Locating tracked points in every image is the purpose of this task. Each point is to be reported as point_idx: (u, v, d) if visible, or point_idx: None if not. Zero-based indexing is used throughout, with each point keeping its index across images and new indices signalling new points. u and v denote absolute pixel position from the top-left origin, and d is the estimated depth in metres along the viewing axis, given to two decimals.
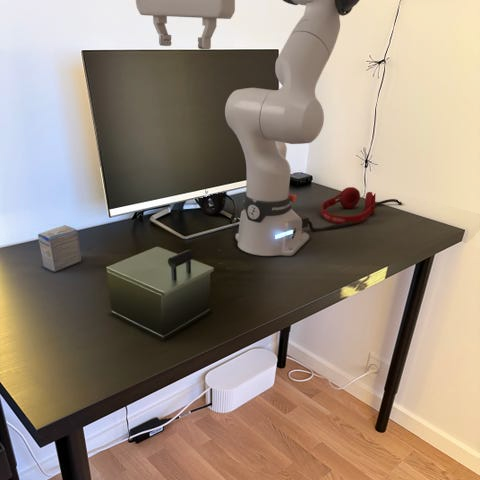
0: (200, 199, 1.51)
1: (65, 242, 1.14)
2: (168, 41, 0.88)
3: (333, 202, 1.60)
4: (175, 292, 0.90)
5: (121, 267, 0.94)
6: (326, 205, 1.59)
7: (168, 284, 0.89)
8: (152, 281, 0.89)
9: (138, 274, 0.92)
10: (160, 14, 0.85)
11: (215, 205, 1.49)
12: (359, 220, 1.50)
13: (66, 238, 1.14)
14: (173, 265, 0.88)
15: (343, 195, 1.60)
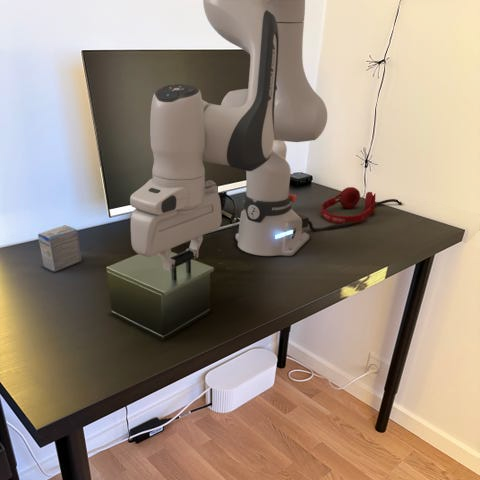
0: None
1: (65, 242, 1.14)
2: None
3: (333, 202, 1.60)
4: (175, 292, 0.90)
5: (121, 267, 0.94)
6: (326, 205, 1.59)
7: (168, 284, 0.89)
8: (152, 281, 0.89)
9: (138, 274, 0.92)
10: (171, 247, 0.84)
11: None
12: (359, 220, 1.50)
13: (66, 238, 1.14)
14: None
15: (343, 195, 1.60)
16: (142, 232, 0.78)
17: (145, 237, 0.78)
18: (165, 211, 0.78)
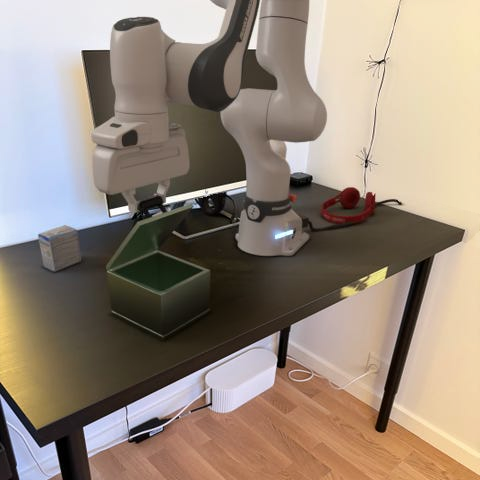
0: (200, 199, 1.51)
1: (65, 242, 1.14)
2: None
3: (333, 202, 1.60)
4: (175, 292, 0.90)
5: None
6: (326, 205, 1.59)
7: None
8: None
9: None
10: (135, 187, 0.84)
11: (215, 205, 1.49)
12: (359, 220, 1.50)
13: (66, 238, 1.14)
14: (141, 207, 0.87)
15: (343, 195, 1.60)
16: (104, 167, 0.78)
17: (106, 173, 0.78)
18: (126, 145, 0.77)
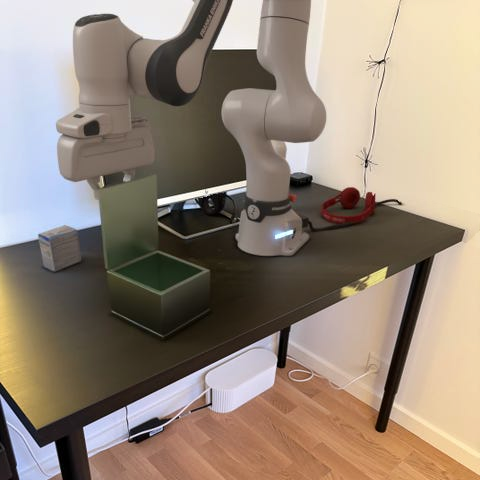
0: (200, 199, 1.51)
1: (65, 242, 1.14)
2: None
3: (333, 202, 1.60)
4: (175, 292, 0.90)
5: None
6: (326, 205, 1.59)
7: None
8: None
9: None
10: (99, 175, 0.88)
11: (215, 205, 1.49)
12: (359, 220, 1.50)
13: (66, 238, 1.14)
14: None
15: (343, 195, 1.60)
16: (67, 156, 0.82)
17: (70, 161, 0.82)
18: (88, 135, 0.82)
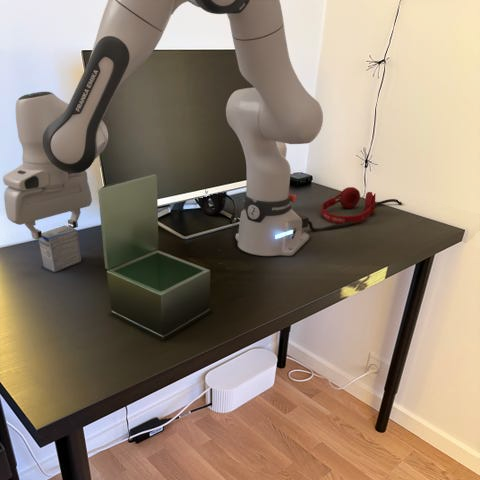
0: (200, 199, 1.51)
1: (65, 242, 1.14)
2: None
3: (333, 202, 1.60)
4: (175, 292, 0.90)
5: None
6: (326, 205, 1.59)
7: None
8: None
9: None
10: (41, 218, 1.07)
11: (215, 205, 1.49)
12: (359, 220, 1.50)
13: (66, 238, 1.14)
14: None
15: (343, 195, 1.60)
16: (12, 204, 1.01)
17: (14, 208, 1.01)
18: (28, 188, 1.01)
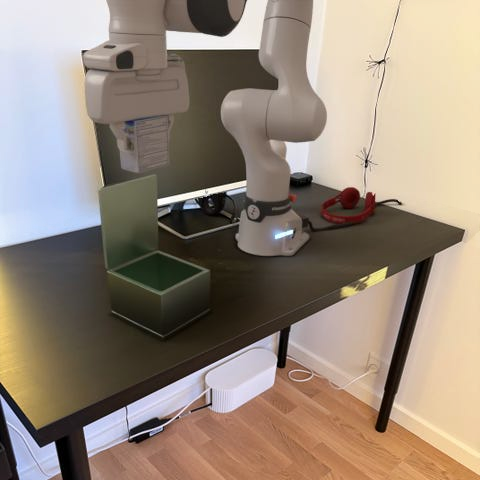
0: (200, 199, 1.51)
1: (153, 132, 0.82)
2: None
3: (333, 202, 1.60)
4: (175, 292, 0.90)
5: None
6: (326, 205, 1.59)
7: None
8: None
9: None
10: (131, 119, 0.78)
11: (215, 205, 1.49)
12: (359, 220, 1.50)
13: (154, 126, 0.82)
14: None
15: (343, 195, 1.60)
16: (97, 92, 0.72)
17: (100, 98, 0.72)
18: (121, 68, 0.71)
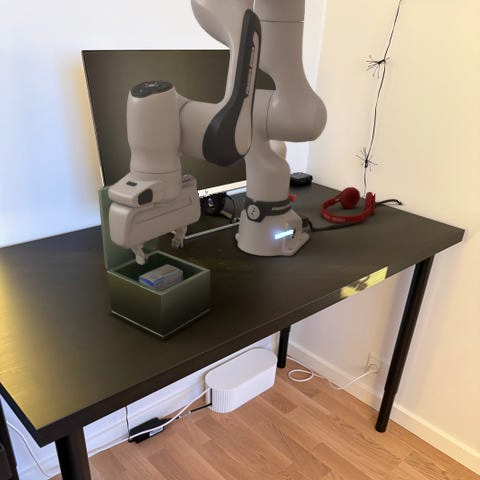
0: (200, 199, 1.51)
1: (169, 286, 0.95)
2: None
3: (333, 202, 1.60)
4: (175, 292, 0.90)
5: None
6: (326, 205, 1.59)
7: None
8: None
9: None
10: (149, 239, 0.87)
11: (215, 205, 1.49)
12: (359, 220, 1.50)
13: (170, 281, 0.95)
14: None
15: (343, 195, 1.60)
16: (120, 224, 0.81)
17: (123, 229, 0.81)
18: (142, 204, 0.80)
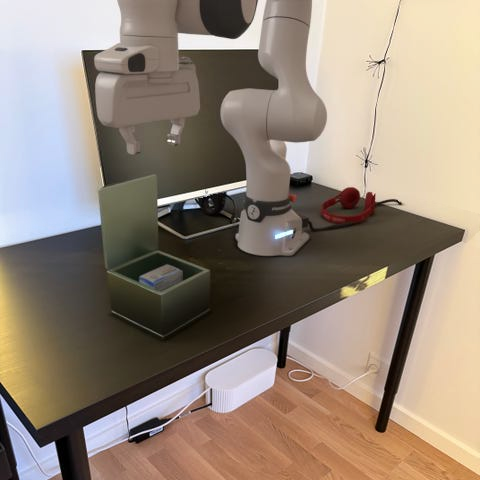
0: (200, 199, 1.51)
1: (169, 286, 0.95)
2: None
3: (333, 202, 1.60)
4: (175, 292, 0.90)
5: None
6: (326, 205, 1.59)
7: None
8: None
9: None
10: (142, 122, 0.77)
11: (215, 205, 1.49)
12: (359, 220, 1.50)
13: (170, 281, 0.95)
14: None
15: (343, 195, 1.60)
16: (108, 96, 0.71)
17: (111, 101, 0.71)
18: (132, 70, 0.70)
